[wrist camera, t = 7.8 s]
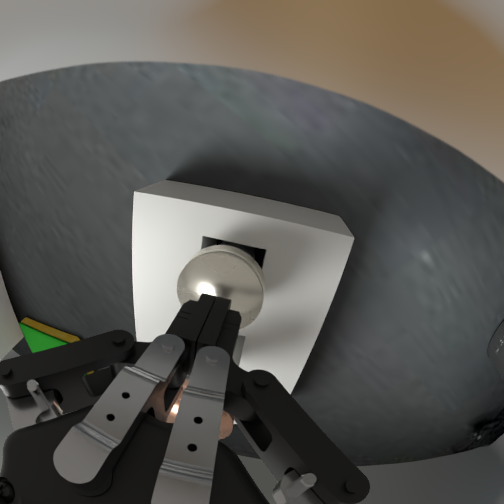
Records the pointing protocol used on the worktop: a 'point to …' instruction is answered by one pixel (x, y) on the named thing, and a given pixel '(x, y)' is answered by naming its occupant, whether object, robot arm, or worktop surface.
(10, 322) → the white house-shaped block
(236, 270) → the knob
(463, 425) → the worktop surface
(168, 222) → the mount
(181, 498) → the robot arm
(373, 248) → the worktop surface
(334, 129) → the worktop surface
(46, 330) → the dish sponge
